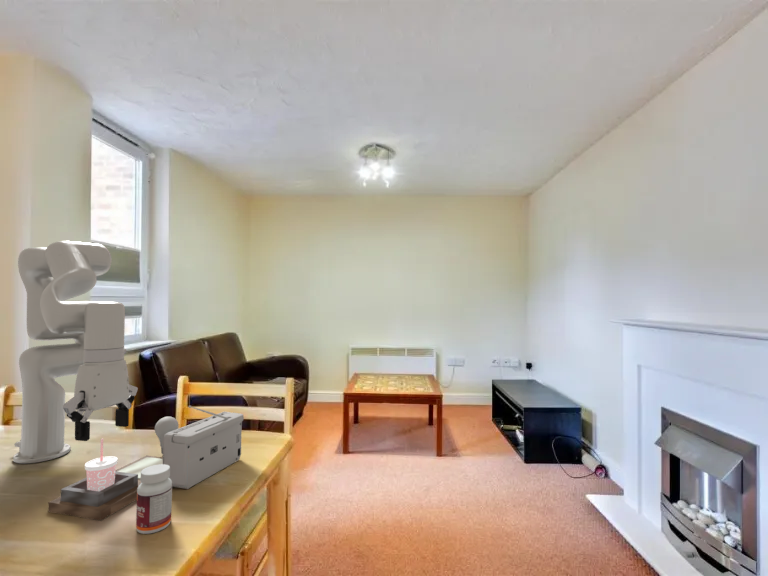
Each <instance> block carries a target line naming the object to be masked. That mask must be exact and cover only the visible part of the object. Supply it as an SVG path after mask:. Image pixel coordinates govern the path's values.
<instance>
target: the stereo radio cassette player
mask: <svg viewBox="0 0 768 576" xmlns="http://www.w3.org/2000/svg"><path fill="white" fill-rule="evenodd" d="M188 408H190V409H191V408H192V409H195V410H196V411H201V412H202V413H206V414H209V415H211V416H209V417H206V418H203V419H200V420H198V421H195V422H192V423H190V424H188V425H185V426H182V427H178V429H176V430H173V431H171V432H168V433H166V434H165V435H164V440H163V454H162V457H163V464H165V465H169V466H170V477H169V478H170V479H171V481H172V488H180V489H186V490H189V489H190V488H191V487H193V486H195V485H197V484H199V483H201V482H202V481H204V480H205V479H208V478H209V477H212V476H213V475H215V474H216V473H218V472H220V471H222V470H223V469H226V468H227V467H229V466H231V465H233V464H234V463H237V462H238V461H239V460H240V459H241V455H242V426H243V421H244V420H245V419H244V418H245V417H244V414H243V413H240V412H239V413H238V412H230V411H221V412H219V413H214V412H212V411H208V410H204V409H201V408H197V407H193V406H192V405H188Z"/></svg>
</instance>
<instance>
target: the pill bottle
mask: <svg viewBox="0 0 768 576" xmlns="http://www.w3.org/2000/svg"><path fill="white" fill-rule="evenodd" d="M169 477H170V466H169V465H165V464H159V465H153V466H149V467H147V468H145V469H143V470H142V471H141V478H140V481H141V482H142V483H141V484H140V485H139V486H138V488H137V500H136V513H135V514H136V515H135V516H136V517H135V521H136V522H135V528H136V531H137V532H138V533H139V534H142V535H149V534H155V533H158V532H161V531H163V530H164V529H166V528H167V527H168V526H169V525H170V524H171V522H172V505H173V502H172V501H173V500H172V499H173V486H172V481H171V479H170V478H169Z"/></svg>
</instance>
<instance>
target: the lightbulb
mask: <svg viewBox="0 0 768 576" xmlns="http://www.w3.org/2000/svg"><path fill="white" fill-rule="evenodd" d="M176 429H179V422H178V420H177V419H176V417H172V416H164V417H162V418H159V420H158V421H157V422H156V423H155V425H154V433H155V435H156V437H157V438H158V440H159V446H160V452H161V453H160V454H161V455H163V440H164V435H165V434H166V433H168V432H171V431H173V430H176Z"/></svg>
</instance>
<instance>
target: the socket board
mask: <svg viewBox="0 0 768 576" xmlns="http://www.w3.org/2000/svg"><path fill="white" fill-rule="evenodd" d="M159 464H163V456H155V455H154V456H153V455H145V456H143V457H140V458H139V459H137V460H135V461H134V460H133V461H132V462H130V463H128V464H126V465H124V466H121V467H119V468H118V469H117V468H116V471H115V482H114V484H113V485H111V486H109V487H107V488H105V489H103V490H101V491H92V490H87V477H85V478H82V479H80V480H78V481H76V482H74V483H72V484H69V485H68V486H64V487H63V488H61V489H60V496H59V497H57V498H54V499H52V500H50V501H48V505H47V512H48V513H53V514H60V515H66V516H71V517H78V518H84V519H89V520H96V521H103V520H105V519H106V518H108V517H110V516H111V515H113V514H114V513H116V512H118V511H120V510H122V509H123V508H125V507H127V506H129V505H130V504H132V503H133V502H136V501H137V488H138V486H139V485H140V484H141V483H142V482H141V481H140V478H141V471H142V470H143V469H145V468H147V467H149V466H153V465H159Z"/></svg>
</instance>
